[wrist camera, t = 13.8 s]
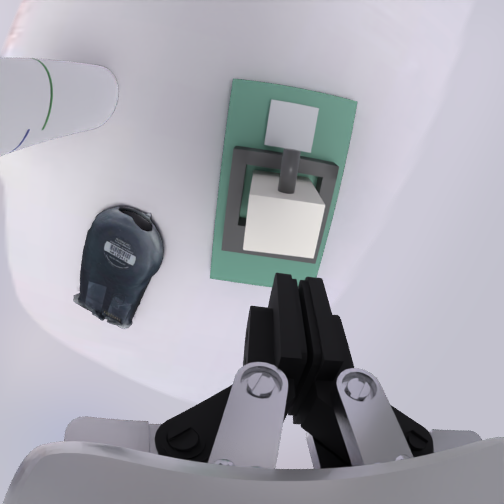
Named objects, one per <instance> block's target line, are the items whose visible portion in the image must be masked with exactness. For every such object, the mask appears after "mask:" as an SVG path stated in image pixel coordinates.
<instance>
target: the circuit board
mask: <svg viewBox="0 0 504 504" xmlns="http://www.w3.org/2000/svg"><path fill="white" fill-rule="evenodd" d="M356 107H357V101H353V100H349V99H345V98H341V97H337V96H333V95H329V94H325V93H320V92H316V91H311V90H306V89H301V88H296V87H290V86H285V85H279V84H272V83H266V82H258V81H251V80H242V79H233V82H232V89H231V96H230V103H229V110H228V117H227V125H226V132H225V140H224V148H223V156H222V164H221V173H220V181H219V190H218V199H217V209H216V218H215V228H214V239H213V249H212V261H211V272H210V278H211V279H217V280H224V281H231V282H238V283H245V284H252V285H259V286H266V287H272V286H273V282H274V277H275V273H276V272H277V273H284V274H291V275H292V279H297V284H298V285H299V282H300V280H305V278H306V277H315V278H316V277H317V273H318V270H319V266H320V263H321V259H322V256H323V252H324V248H325V245H326V241H327V237H328V233H329V229H330V226H331V222H332V218H333V214H334V210H335V206H336V202H337V197H338V193H339V189H340V185H341V180H342V176H343V172H344V167H345V162H346V158H347V153H348V148H349V144H350V139H351V134H352V129H353V123H354V118H355V113H356ZM284 148H288V149H295V150H299V151H301V155H300V161H299V167H298V174H297V176H303V177H309V179H310V180H311V182H312V184H313V185H314V187H315V189H316V190H317V192H318V194H319V195H320V197H321V199H322V200H323V202H324V204H325V209H324V214H323V219H322V223H321V228H320V232H319V237H318V241H317V246H316V250H315V254H314V258H305V257H297V256H289V255H281V254H272V253H264V252H256V251H248V250H243V245H244V236H245V227H246V219H247V210H248V202H249V194H250V188H251V182H252V176H253V171H254V170H259V171H267V172H275V173H280V170H281V163H282V156H283V150H284Z"/></svg>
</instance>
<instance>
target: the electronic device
mask: <svg viewBox="0 0 504 504" xmlns="http://www.w3.org/2000/svg"><path fill="white" fill-rule="evenodd" d="M120 211H129V212H134V213H136V214H138V215H140V216H141V217H143V218H144V219H146V220H147V221H148V222H149V223H150V224H151V226H152V231H149V232H148V231H144V230H142V229H141V228H139V227H138V226H137V225H136V224H135V222H134V220H133V218H132V217H131V216H129V215H127V214H124V213H122V212H120ZM150 217H151V214H150V213H147V214H145V213H143V212H141V211H139V210H136V209H133V208H129V207H115V208H110V209H107V210H105V211H103V212H101V213H99V214H98V215H97V217H96V218H95V220H94V221H93V223H92V226H91V228H90V229H89V230H88V233H87V237H86V240H85V245H84V249H83V256H82V263H81V271H80V293H79V294H76V295H74V299H73V301H74V302H75V303H76V304H78V305H80V306H82V307H83V308H85V309H87V310H89V311H91V312H92V314H93V315H95V316H96V317H98V318H99V319H100V320H104V319H107V322H108V323H110V324H114V325H117V326H118V327H120V328H123V329H125V328H129V327H130V326H131V325H132V318H133V317H134V314H135V312H136V310H137V307H138V306H139V305H140V301H141V299H142V296H143V294H144V292H145V290H146V288H147V286H148V284H149V282H150V279H151V277H152V276H153V275H154V274H155V273H156V272H157V271H158V270H159V268H160V265H161V263H162V259H163V244H162V240H161V236H160V234H159V232H158V231H157V229H156V227H155V225H154V224H153V223H152V222H151V220H150Z"/></svg>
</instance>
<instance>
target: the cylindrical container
mask: <svg viewBox="0 0 504 504" xmlns="http://www.w3.org/2000/svg"><path fill="white" fill-rule="evenodd" d="M118 92H119V90H118V83H117V81H116V78H115V76H114V75H113V73H112V72H111V71H110V70H109V69H107V68H105V67H103V66H100V65H93V64H86V63H78V62H70V61H60V60H49V59H34V58H0V156H2V155H5V154H7V153H11V152H14V151H16V150H19V149H22V148H25V147H29V146H32V145H35V144H38V143H41V142H45V141H48V140H52V139H55V138H59V137H63V136H67V135H71V134H75V133H79V132H84V131H88V130H92V129H95V128H98V127H100V126H101V125H103V124H104V123H105V122H106V121H107V120H108V119H109V118H110V117H111V115H112V113H113V112H114V110H115V107H116V105H117V101H118Z"/></svg>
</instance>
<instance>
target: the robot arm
mask: <svg viewBox="0 0 504 504" xmlns="http://www.w3.org/2000/svg"><path fill="white" fill-rule="evenodd" d="M287 413H288V415H293V424H301V427H302V428H303V429H304V430H305V431H307V433H306V439H307V443H308V447H309V451H310V455H311V459H312V463H313V467H314V469H275V467H276V461H277V456H278V450H279V444H280V438H281V431H282V425H283V422H284V420H285V418H286V415H287ZM3 504H504V437H496V438H490V439H486V440H482V439H481V438H480V436H479V435H478V434H477V433H475V432H473V431H455V430H436V429H435V430H434V429H433V430H431V431H430V432H428V431H427V430H426V429H425V428H424V427H423V426H421V425H420V424H418V423H416V422H415V421H414V420H412V419H411V418H409V417H408V416H406V415H405V414H403V413H402V412H400V411H399V410H397V409H396V408H394V407H393V406H391V405H390V403H389V401H388V399H387V397H386V395H385V393H384V390H383V388H382V386H381V384H380V382H379V381H378V379H377V378H376V377H375V376H374V375H373V374H371V373H370V372H368V371H366V370H363V369H359V368H354V366H353V361H352V357H351V354H350V351H349V346H348V343H347V339H346V336H345V332H344V329H343V325H342V322H341V319H340V317H339V316H338V315H332V312H331V309H330V305H329V301H328V298H327V294H326V291H325V287H324V283H323V280H322V279H321V278H315V277H306V278H305V280H300V282H299V285H298V284H297V279H292V275H291V274H284V273H277V272H276V273H275V277H274V282H273V286H272V291H271V296H270V300H269V305H268V308H265V307H257V306H250V311H249V317H248V322H247V329H246V337H245V347H244V360H243V367H241V368H240V369H239V370H238V372H237V374H236V375H235V379H234V382H233V385H231V386H229V387H228V388H226V389H224V390H222V391H221V392H219V393H217V394H215V395H214V396H212V397H210V398H208V399H207V400H205V401H203V402H201V403H199V404H198V405H196V406H194V407H192V408H190V409H188V410H186V411H185V412H183V413H181V414H179V415H177V416H175V417H173V418H171V419H169V420H167V421H166V422H165V423H163V424H149V422H148V421H133V420H117V419H105V418H95V417H78V418H76V419H74V420H72V421H71V422H70V423H69V424H68V426H67V428H66V431H65V437H64V442H63V441H60V442H53V443H47V444H43V445H40V446H38V447H36V448H35V449H33V450H32V451H31V452H30V453H29V454H28V455H27V456H26V458H25V459H24V460H23V462H22V463H21V465H20V466H19V468H18V470H17V472H16V473H15V475H14V478H13V480H12V482H11V484H10V486H9V489H8V491H7V493H6V496H5V499H4V502H3Z"/></svg>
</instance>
